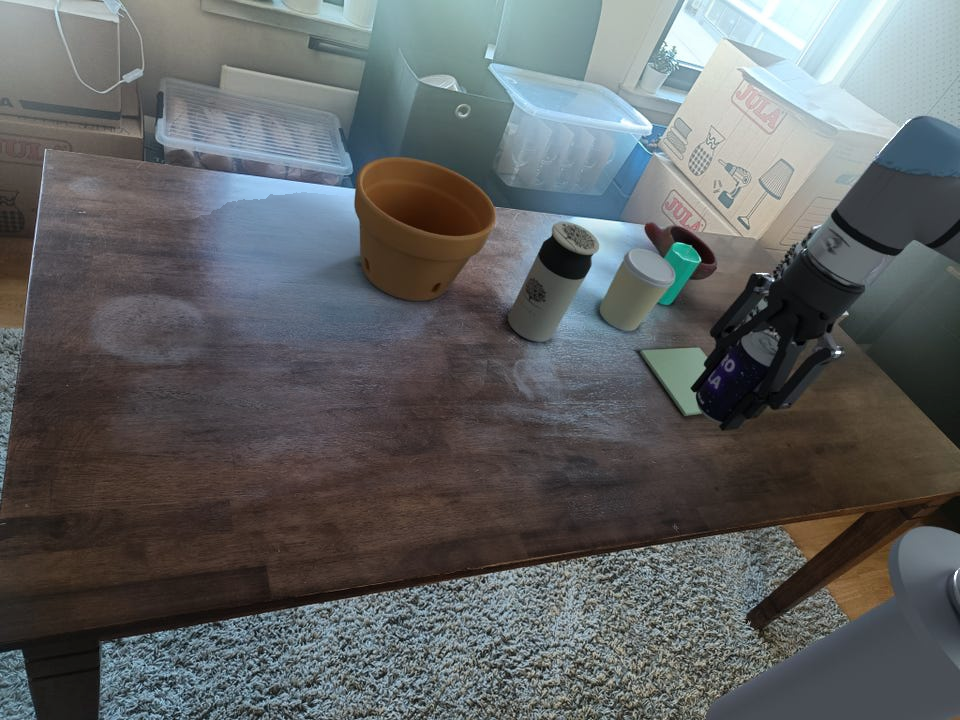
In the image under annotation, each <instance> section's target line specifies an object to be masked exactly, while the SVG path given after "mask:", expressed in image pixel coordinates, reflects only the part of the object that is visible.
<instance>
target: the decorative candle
mask: <svg viewBox="0 0 960 720" xmlns="http://www.w3.org/2000/svg"><path fill="white" fill-rule="evenodd" d="M821 225H822V224H820V225H811V227H810V230H809V232H808V233H807V234H806V235H805V236H804V238H802V239H801V240H800V241H799V242H796V243H792V244H791V247H789V250H787V251H786V253H785V254H784V255H783V257H784V259H781V260H780V261H779V263H778V264H777V266H775V269H773V271H772V273H773V274H772V275H771V274H770V275H771V276H772V279H774V280H777V279H779V278H781V277H782V275H783V272H784V271H785V270H786V268H787V267H788V266H789V265H790V263H791V262H792V261H793V260H794V258H795V257H796V256H797V255H798V253H799V252H800V251H801V250H803V249H807V243H808V241H809V240H810V239H811V238H812V236H813V235H814V234H815V233H816V231H817V230H818V229H819V228H820V226H821ZM768 295H769V292H768V293H767V294H765V295H764V297H763V298H762V300H761V301H760V302H759V303H758V304H757V305H756V306H755V307H754V309H753V310H752V311H751V312H750V313H749V314H748V315H747V317H746V318H745V319H744V320H743V321H742V322H741V323H740V324H739V326H738V327H737V328H736V329H738V328H739V327H741V326H742V325H743V324H745V323H746V322H748V321H749V320H751V319H752V318H754V315H755V314H757V313H758V312H760V311H761V310H763V309H764V308H766V307H767V303H768ZM736 329H735V330H736ZM735 330H734V331H735ZM764 332H767V333H769V334H771V335H772V336H774V337H775V338H777V339H778V340H779V337H780V336H779V334H778V332H777V330H776V329H775V328H773V327H769V328H768V329H766V330H765V331H764Z"/></svg>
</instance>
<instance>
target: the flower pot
mask: <svg viewBox="0 0 960 720" xmlns="http://www.w3.org/2000/svg"><path fill="white" fill-rule="evenodd" d="M353 201H354V203H353V204H354V211H355V215H356V217H357V218H358V223H359V224H358V225H359V226H358V227H359V251H360V264H361V269H362V271H363V274H364V275H365V277H366V278H367V280H368V281H369V282H370V283H371V284H372V285H374V287H376V288H377V289H379V290H381V291H382V292H383V293H386V294H387V295H389V296H392V297H395V298H397V299H401V300H404V301H405V300H406V301H411V302H425V301H426V302H427V301H430V300H435V299H437V298H439V297H441V296H443V294H445V293H446V292H447V291H448V289H449V288H450V286H452V284H453V283H454V281H456V278H457V277H458V276H459V274H460V273H461V272H462V270H463V269H464V267H465V266H466V265H467V263H468V262H469V261H470V259H471V258H472V257H473V256H475V255H477V254H478V253H479V252H480V251H481V250H482V249H483V248H484V246H485V245H486V243H487V241H488V239H489V237H490V235H491V233H492V231H493V229H494V227H495V224H496V221H497V211H496V207H495V206H494V204H493V202H492V200H491V199H490V197H489V196H488V195H487V193H486V192H484V190H483V189H481V188H480V187H479V186H478V185H477V184H475V183H474V182H473V181H471V180H470V179H468V178H466V177H465V176H463V175H461V174H460V173H458V172H456V171H454V170H452V169H449V168H447V167H445V166H443V165H439V164H436V163H434V162H431V161H426V160H423V159H417V158H411V157H403V156H391V157H390V156H389V157H382V158H378V159H374V160H371V161H369V162H367V163H366V164H364V165H363V166H362V167H361V168H360V170H359V171H358V173H357V176H356V181H355V189H354V200H353Z"/></svg>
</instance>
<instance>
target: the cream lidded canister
mask: <svg viewBox="0 0 960 720" xmlns="http://www.w3.org/2000/svg"><path fill="white" fill-rule="evenodd" d="M622 259H623V260H622V261H621V263H620V265H619V267H618V269H617V271H616V273H615V275H614V277H613V279H612V281H611V283H610V285H609V286H608V289H607V291H606V293H605V295H604V297H603V299H602V301H601V303H600V306H599V313H600V315H601V317H602V318H603V319H604V321H605V322H606V323H608V324H609V325H610V326H612V327H614V328H616V329H618V330H621V331H625V332H631V331H632V332H633V331H634V330H636V329H637V328H638V327H639V326H640V325H641V324H642V323H643V321H644V320H645V319H646V317H647V316H648V315H649V313H650V312H651V311H652V310H653V309H654V307H655V306H656V305H657V304H658V301H659V300H660V298H661V297H662V296H663V294H664V293H665V292H666V291H667V289H668V288H669V287H670V286H671V285H672V284H673V283H674V280H675V272H674V269H673V268H672V266H671V265H670V264H669V263H668V262H667V261H666V260H665V259H663V258H662V257H661V256H660V254H657V253H655V252H654V251H651V250H649V249H645V248H632V249H630V250H629V251H627V252H626V253H625V254H624V256H623V258H622Z"/></svg>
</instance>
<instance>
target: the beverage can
mask: <svg viewBox="0 0 960 720" xmlns="http://www.w3.org/2000/svg"><path fill="white" fill-rule="evenodd" d="M778 342H779V338H778V339H777V338H775V337H774V336H772V335H771V334H769V333H767V332H764V331H761V332H752V331H751V332H750V333H749V334H747V335H745V336H743V337H741V338H740V340H739V341H738V342H737V343H736V345H735V346H734V347H733V348H732V349H731V351H730V352H729V353H728V354H727V356H726V357H725V358H724V359H723V360H722V362H721V363H720V364H719V365H718V367H717V368H716V369H715V370H714V372H713V373H712V374H711V375H710V376H709V378H708V379H707V380H706V381H705V383H704V384H703V385H702V386H701V387H700V389H699V390H698V391H697V393H696V401H697V405H698V408H699V410H700V411H701V413H702V414H701V415H703V416H704V417H705V418H706V419H708V420H710V421H712V422H715V423H722V422H723V421H724V420H725V419H726V418H727V417H728V416H729V415H730V413H731V412H732V411H733V410H734V409H735V408H736V407H737V406H738V404H739V403H740V402H741V401H742V400H743V399H744V398H745V397H746V396H747V394H748V393H749V392H757V391H758V390H759V388H760V386H761V384H762V382H763V379H764V377H765V375H766V373H767V371H768V369H769V367H770V365H771V362H772V360H773V358H774V356H775V354H776V352H777V350H778V347H777V344H778Z"/></svg>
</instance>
